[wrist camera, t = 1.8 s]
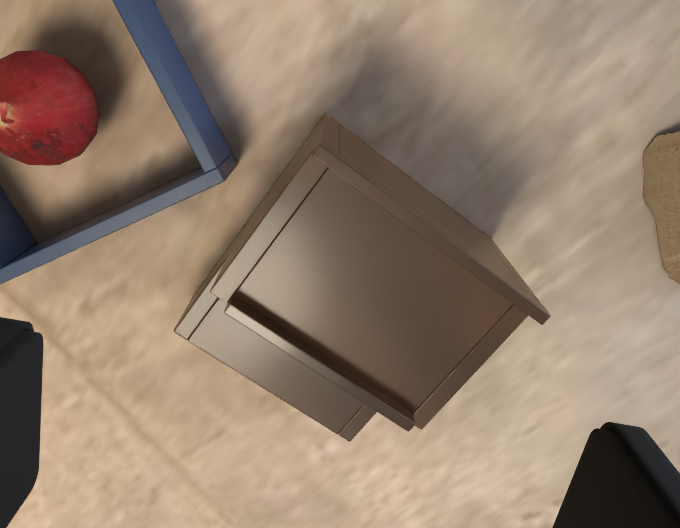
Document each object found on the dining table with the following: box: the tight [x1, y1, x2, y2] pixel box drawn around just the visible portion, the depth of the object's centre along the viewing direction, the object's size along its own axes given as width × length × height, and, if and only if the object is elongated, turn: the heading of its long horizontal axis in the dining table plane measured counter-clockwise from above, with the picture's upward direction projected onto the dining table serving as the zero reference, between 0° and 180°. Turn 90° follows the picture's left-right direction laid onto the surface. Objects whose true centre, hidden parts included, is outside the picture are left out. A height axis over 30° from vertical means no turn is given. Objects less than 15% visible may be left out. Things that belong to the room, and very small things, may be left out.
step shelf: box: [174, 113, 551, 441], centre depth 34 cm, size 15×13×12 cm
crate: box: [0, 0, 237, 284], centre depth 33 cm, size 15×15×4 cm
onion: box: [0, 50, 99, 165], centre depth 32 cm, size 6×6×8 cm
